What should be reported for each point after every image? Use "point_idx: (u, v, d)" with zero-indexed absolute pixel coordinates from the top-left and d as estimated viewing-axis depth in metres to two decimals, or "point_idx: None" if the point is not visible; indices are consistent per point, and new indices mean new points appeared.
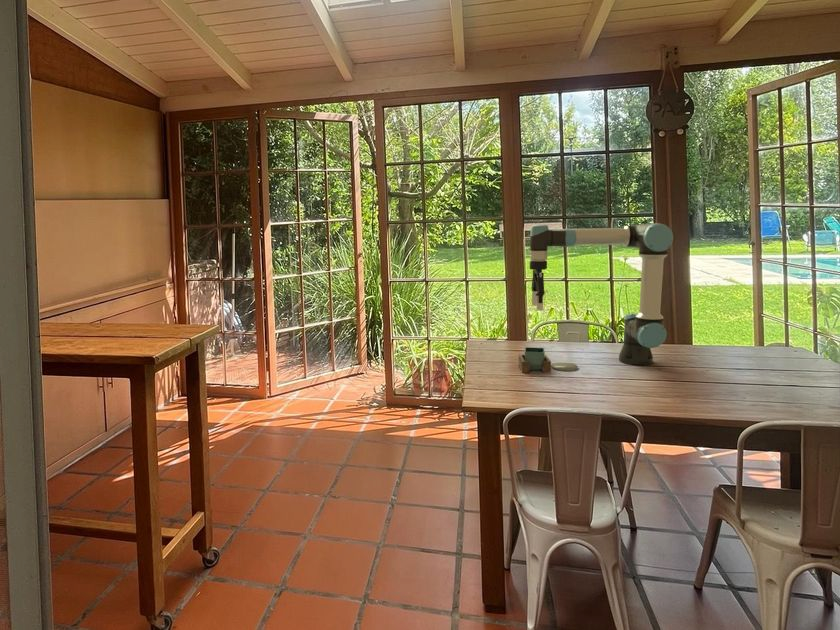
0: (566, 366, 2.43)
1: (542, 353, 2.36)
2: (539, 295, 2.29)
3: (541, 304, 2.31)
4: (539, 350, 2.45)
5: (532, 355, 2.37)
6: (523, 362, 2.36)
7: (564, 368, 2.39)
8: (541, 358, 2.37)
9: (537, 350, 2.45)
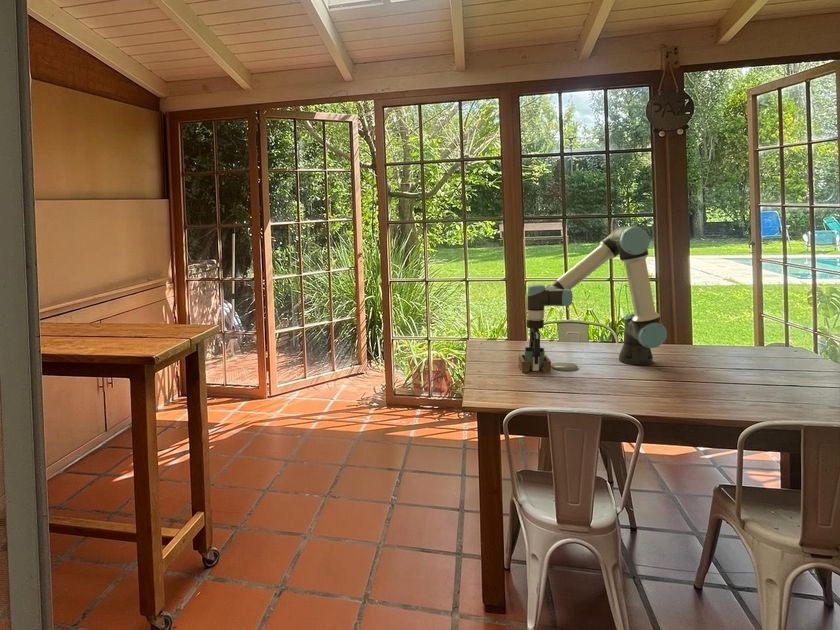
0: (566, 366, 2.43)
1: (542, 353, 2.36)
2: (535, 356, 2.35)
3: (537, 365, 2.37)
4: None
5: None
6: (523, 362, 2.36)
7: (564, 368, 2.39)
8: (541, 358, 2.37)
9: None
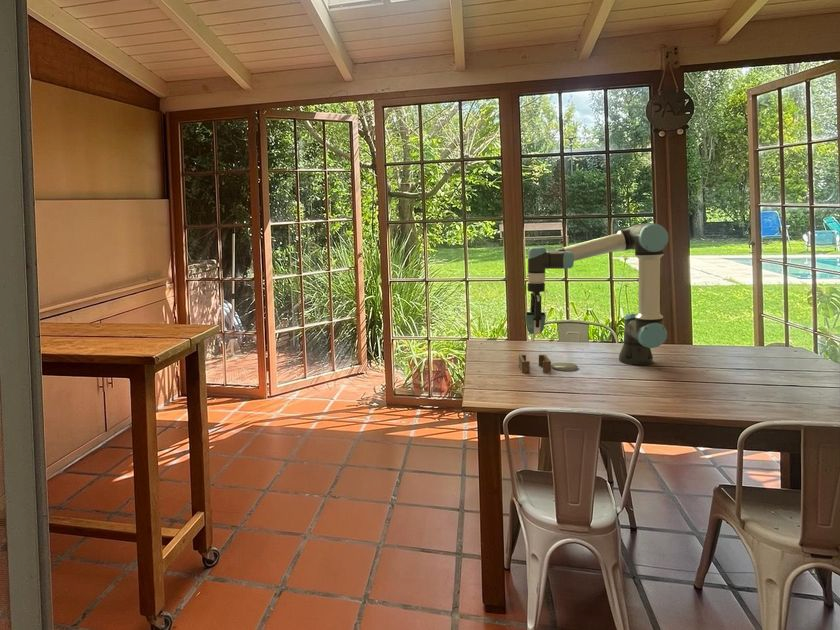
0: (566, 366, 2.43)
1: (543, 316, 2.33)
2: (536, 320, 2.32)
3: (538, 328, 2.34)
4: None
5: None
6: (523, 362, 2.36)
7: (564, 368, 2.39)
8: (542, 321, 2.34)
9: None
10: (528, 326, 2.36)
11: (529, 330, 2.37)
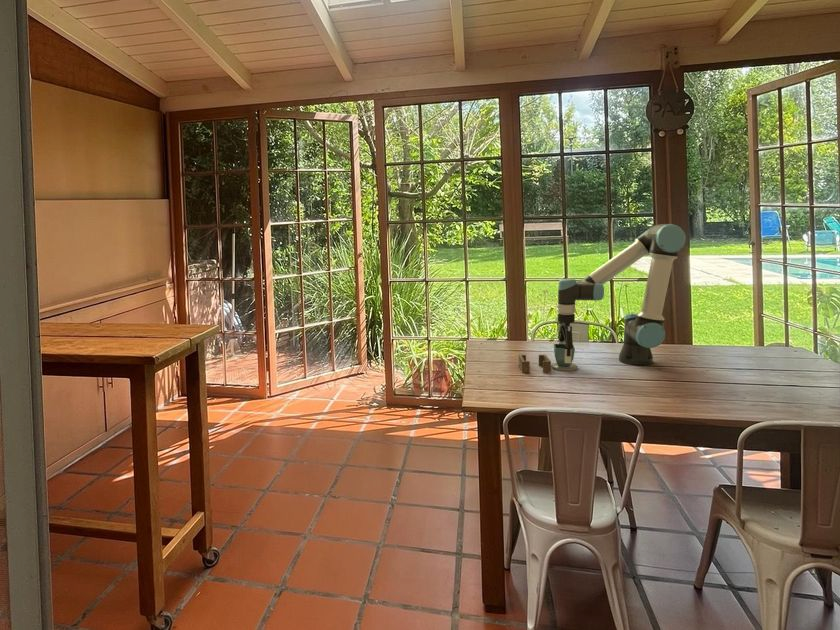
0: (566, 366, 2.43)
1: (572, 349, 2.39)
2: (567, 349, 2.33)
3: (569, 357, 2.35)
4: None
5: (563, 352, 2.40)
6: (523, 362, 2.36)
7: (564, 368, 2.39)
8: (571, 354, 2.39)
9: None
10: (557, 358, 2.41)
11: (558, 362, 2.42)
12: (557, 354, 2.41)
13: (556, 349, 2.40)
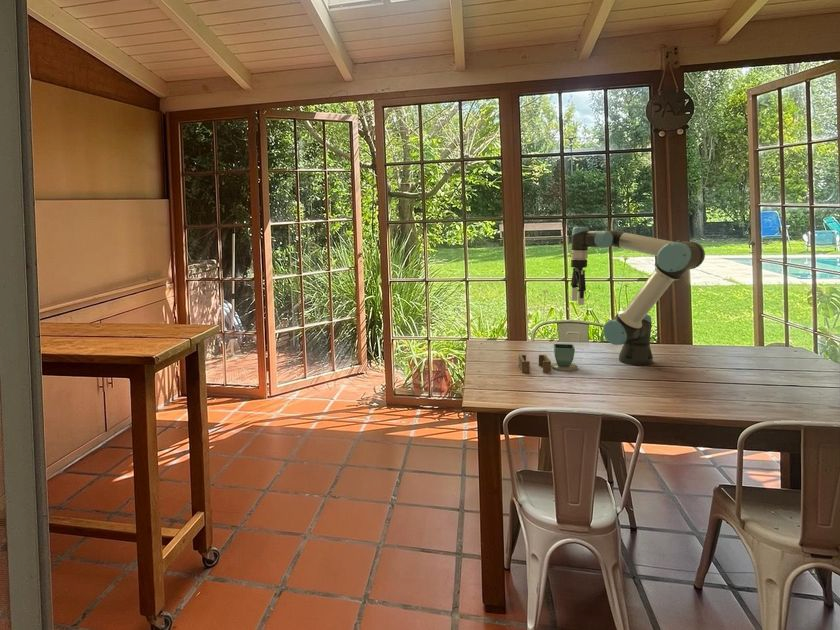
0: (566, 366, 2.43)
1: (572, 349, 2.39)
2: (581, 291, 2.50)
3: (582, 299, 2.53)
4: (568, 346, 2.47)
5: (563, 352, 2.40)
6: (523, 362, 2.36)
7: (564, 368, 2.39)
8: (571, 354, 2.39)
9: (566, 346, 2.47)
10: (557, 358, 2.41)
11: (558, 362, 2.42)
12: (557, 354, 2.41)
13: (556, 349, 2.40)
